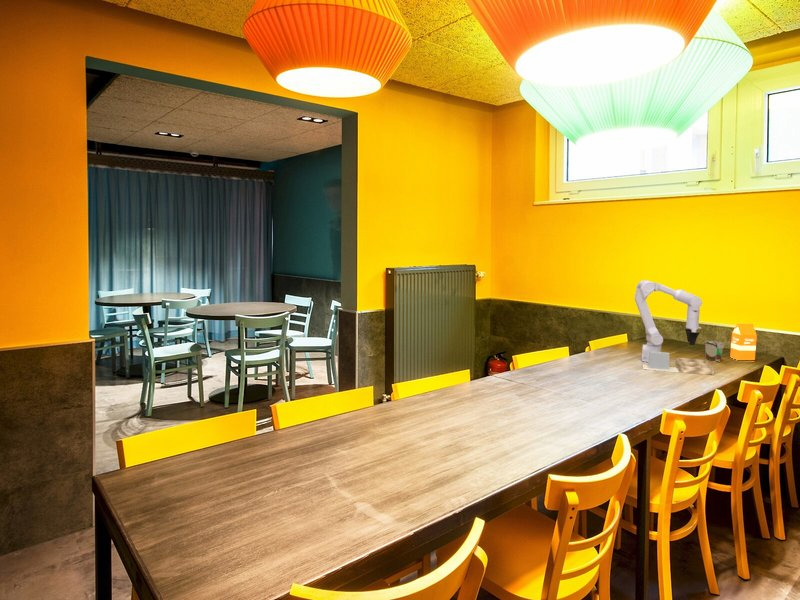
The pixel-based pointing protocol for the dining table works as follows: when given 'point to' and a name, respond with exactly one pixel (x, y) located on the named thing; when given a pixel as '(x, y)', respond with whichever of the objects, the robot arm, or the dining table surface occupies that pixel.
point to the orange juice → (743, 342)
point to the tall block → (658, 360)
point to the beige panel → (671, 369)
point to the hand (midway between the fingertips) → (691, 343)
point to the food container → (714, 350)
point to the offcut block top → (695, 364)
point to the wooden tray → (704, 369)
